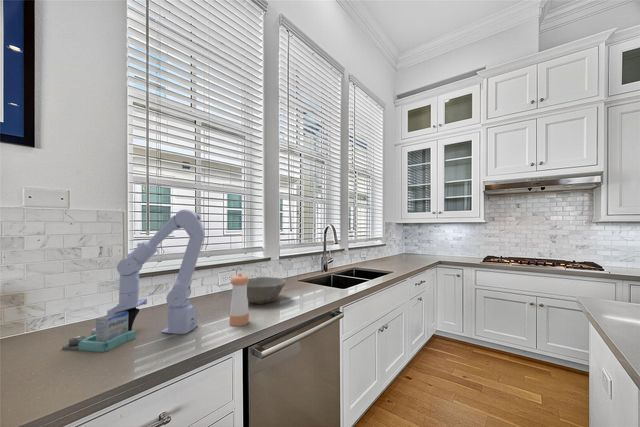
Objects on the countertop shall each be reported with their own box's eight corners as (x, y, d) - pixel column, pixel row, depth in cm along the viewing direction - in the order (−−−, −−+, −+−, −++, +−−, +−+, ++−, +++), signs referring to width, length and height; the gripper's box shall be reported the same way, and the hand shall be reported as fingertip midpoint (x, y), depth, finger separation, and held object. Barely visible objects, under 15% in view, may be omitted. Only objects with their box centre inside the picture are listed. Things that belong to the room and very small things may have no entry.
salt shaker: (252, 322, 107) (253, 273, 107) (235, 327, 101) (236, 276, 102) (242, 318, 112) (243, 271, 112) (225, 322, 106) (226, 273, 107)
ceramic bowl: (229, 303, 132) (230, 282, 133) (264, 293, 151) (264, 275, 151) (261, 311, 120) (261, 289, 120) (294, 299, 138) (294, 280, 139)
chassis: (136, 337, 92) (137, 328, 92) (106, 353, 81) (107, 342, 81) (96, 334, 94) (97, 325, 94) (62, 349, 83) (62, 338, 83)
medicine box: (106, 346, 85) (107, 319, 85) (94, 345, 86) (95, 318, 86) (128, 336, 93) (129, 311, 93) (117, 335, 94) (118, 310, 94)
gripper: (136, 286, 104) (134, 322, 103) (99, 296, 89) (98, 338, 89) (152, 287, 103) (151, 323, 102) (118, 297, 88) (116, 339, 88)
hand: (127, 330), depth 95 cm, fingers closed
